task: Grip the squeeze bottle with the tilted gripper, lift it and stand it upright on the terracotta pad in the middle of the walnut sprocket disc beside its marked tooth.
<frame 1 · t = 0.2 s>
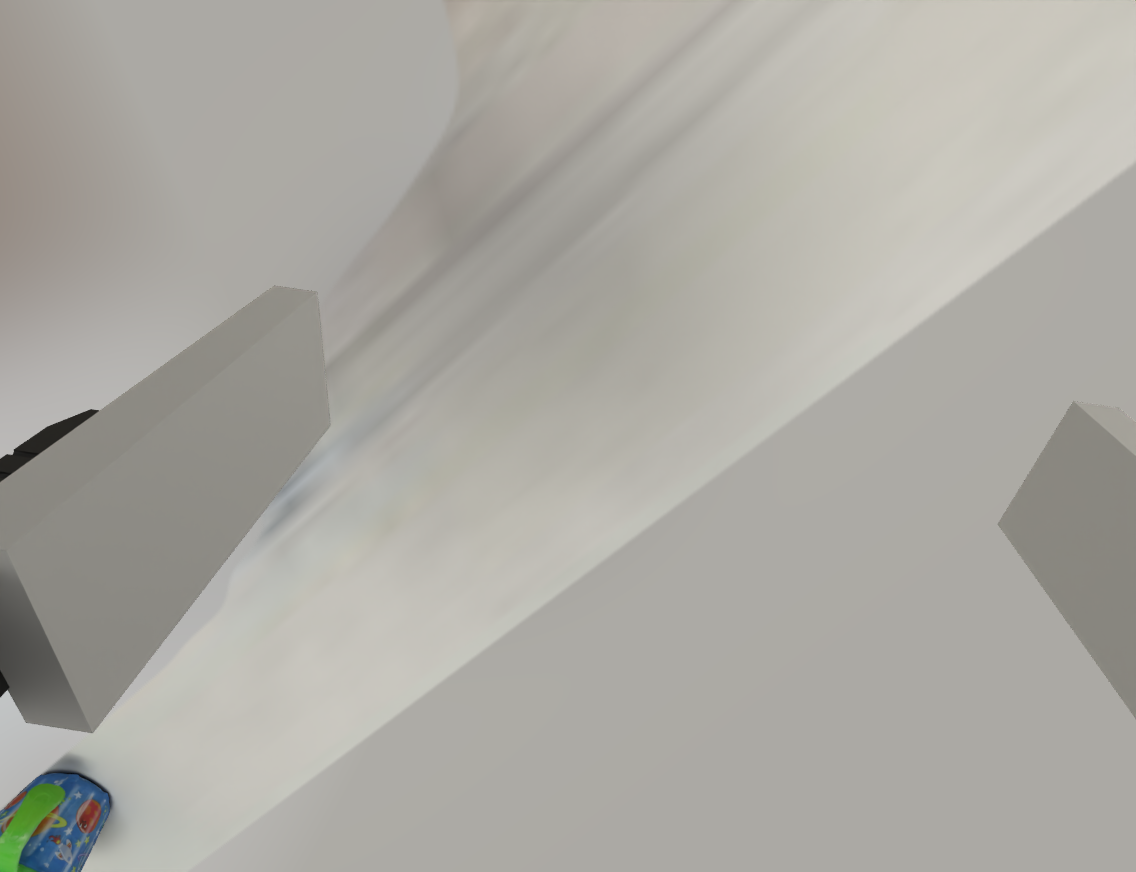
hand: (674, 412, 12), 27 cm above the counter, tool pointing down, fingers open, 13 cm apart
snack cup: (76, 791, 64), on the counter
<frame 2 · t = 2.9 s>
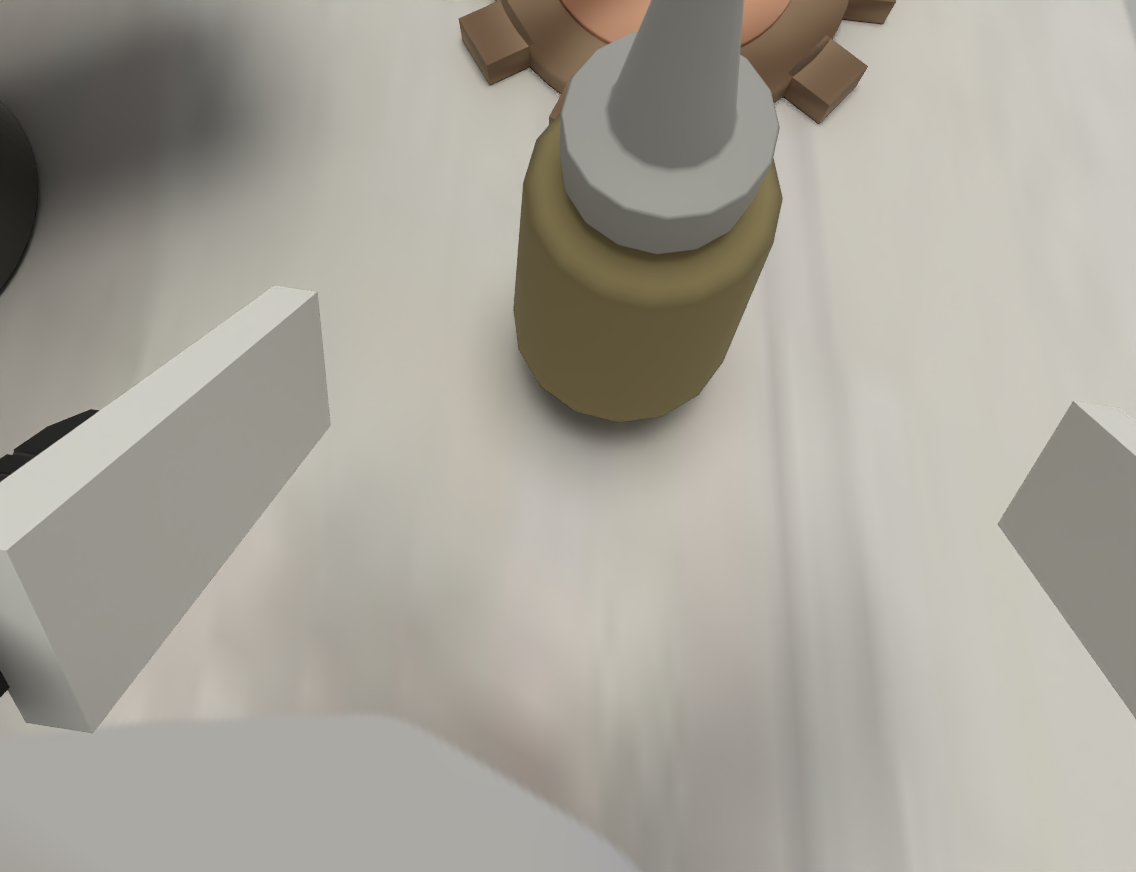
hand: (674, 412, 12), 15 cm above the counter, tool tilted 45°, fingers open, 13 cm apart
squeeze bottle: (614, 351, 28), on the counter
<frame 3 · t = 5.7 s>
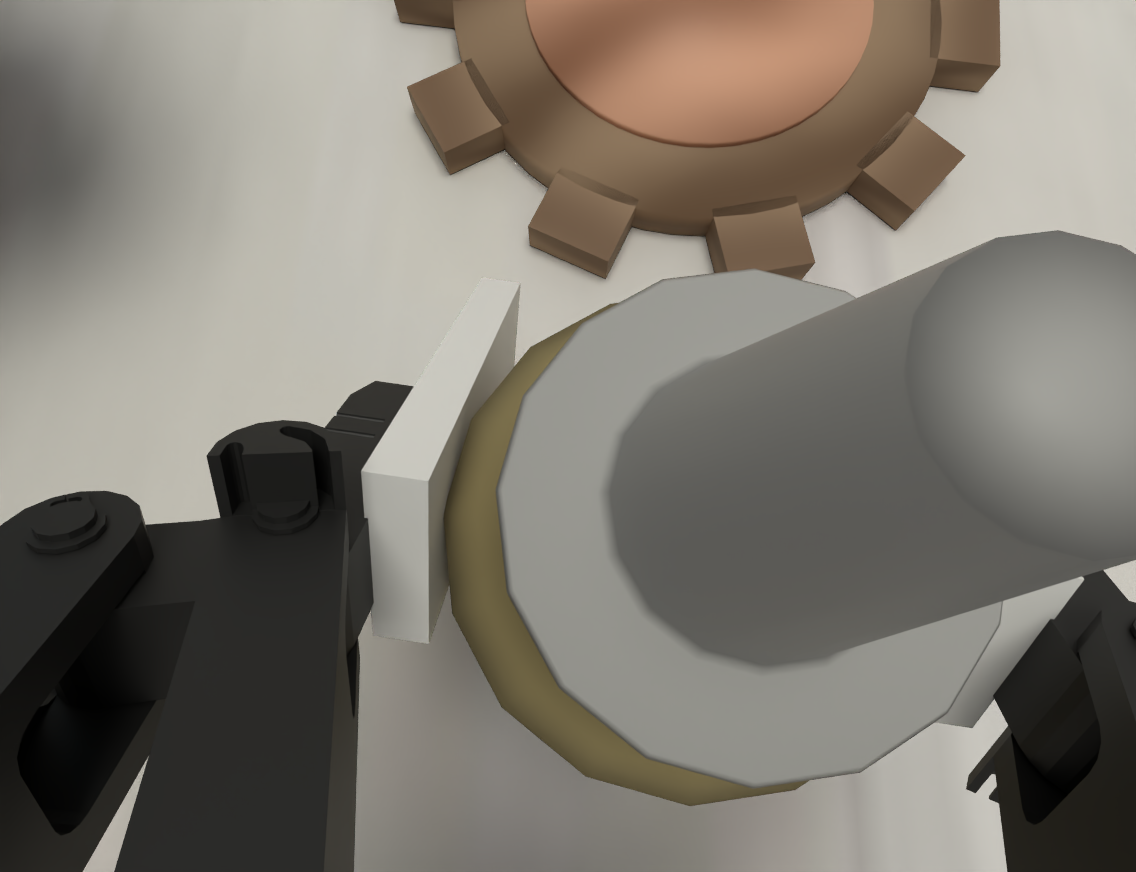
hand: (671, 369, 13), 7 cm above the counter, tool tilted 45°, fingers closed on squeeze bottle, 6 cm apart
squeeze bottle: (616, 557, 20), on the counter, touching gripper
sprocket disc: (690, 24, 24), on the counter
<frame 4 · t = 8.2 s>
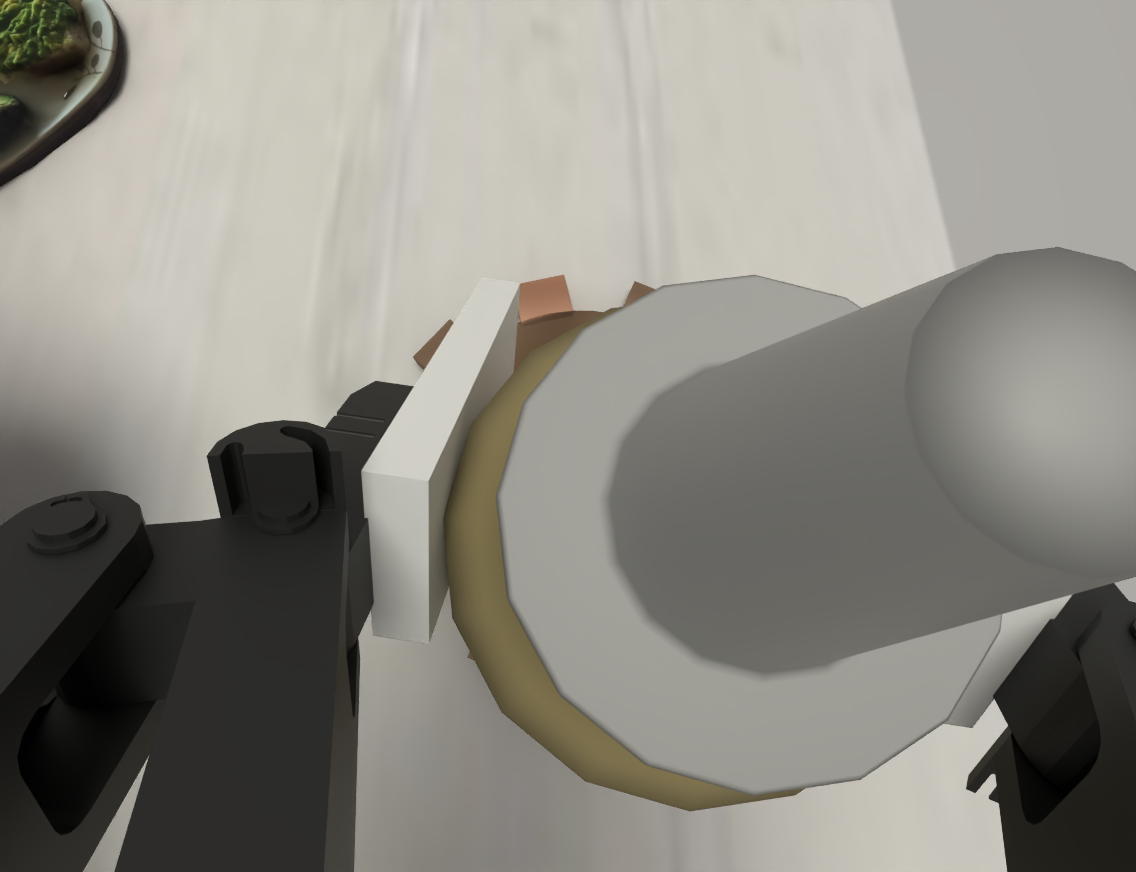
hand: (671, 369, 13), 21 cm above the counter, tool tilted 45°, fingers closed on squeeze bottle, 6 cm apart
squeeze bottle: (616, 560, 20), point 13 cm above the counter, touching gripper
sprocket disc: (581, 472, 34), on the counter
when the fingers open (10 cm above the counter, at t = 11.0 s): squeeze bottle drops 1 cm, resting on sprocket disc.
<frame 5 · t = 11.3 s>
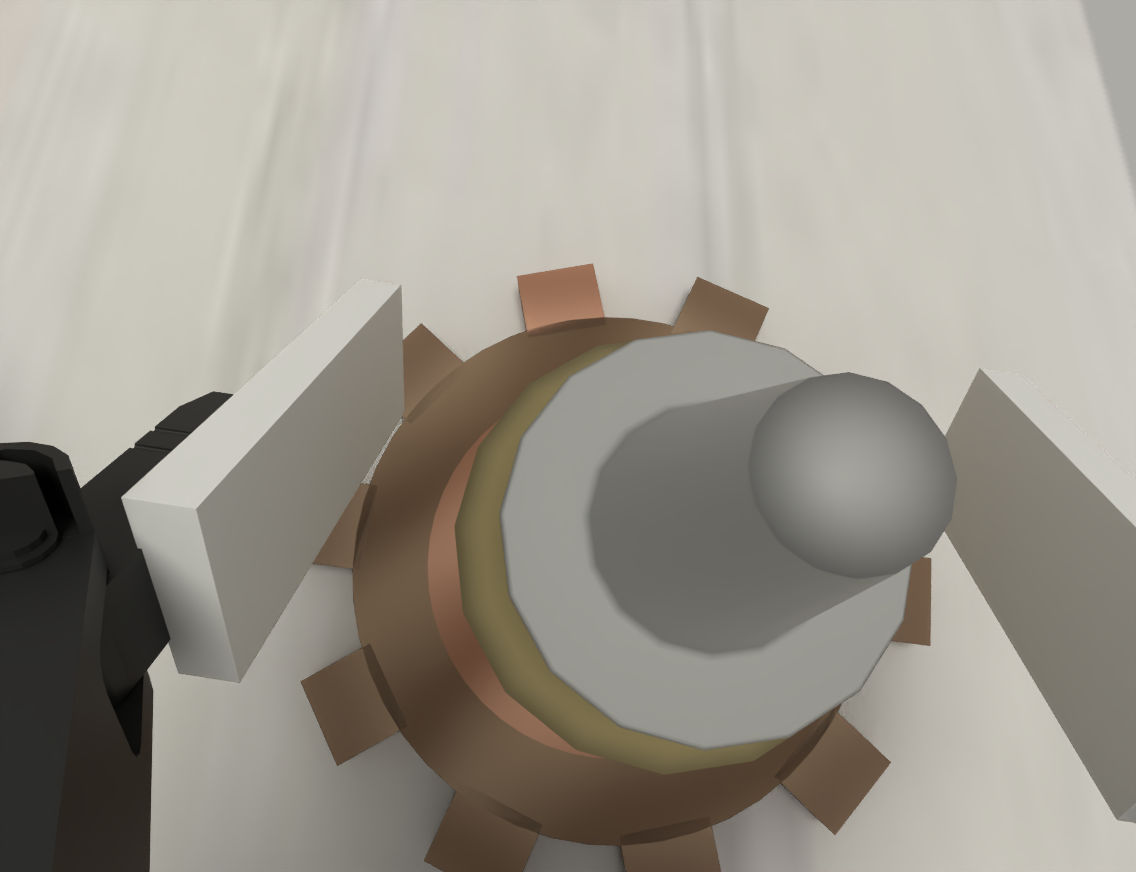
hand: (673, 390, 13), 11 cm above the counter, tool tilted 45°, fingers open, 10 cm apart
squeeze bottle: (611, 561, 21), point 1 cm above the counter, touching sprocket disc
sprocket disc: (609, 560, 23), on the counter
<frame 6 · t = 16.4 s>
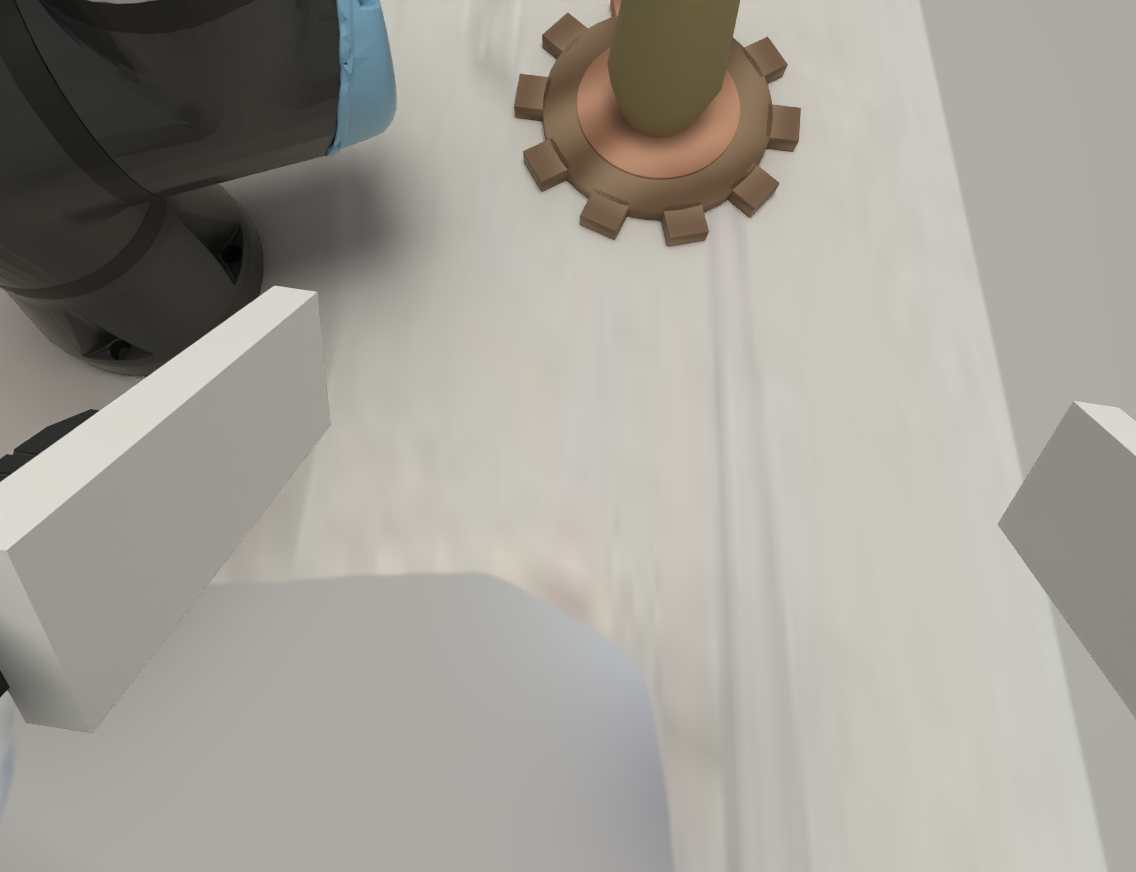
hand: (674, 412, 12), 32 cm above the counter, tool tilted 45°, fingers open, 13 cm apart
squeeze bottle: (657, 106, 48), point 1 cm above the counter, touching sprocket disc
sprocket disc: (655, 118, 49), on the counter
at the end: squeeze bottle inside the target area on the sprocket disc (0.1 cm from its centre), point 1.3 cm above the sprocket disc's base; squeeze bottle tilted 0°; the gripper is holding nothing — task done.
